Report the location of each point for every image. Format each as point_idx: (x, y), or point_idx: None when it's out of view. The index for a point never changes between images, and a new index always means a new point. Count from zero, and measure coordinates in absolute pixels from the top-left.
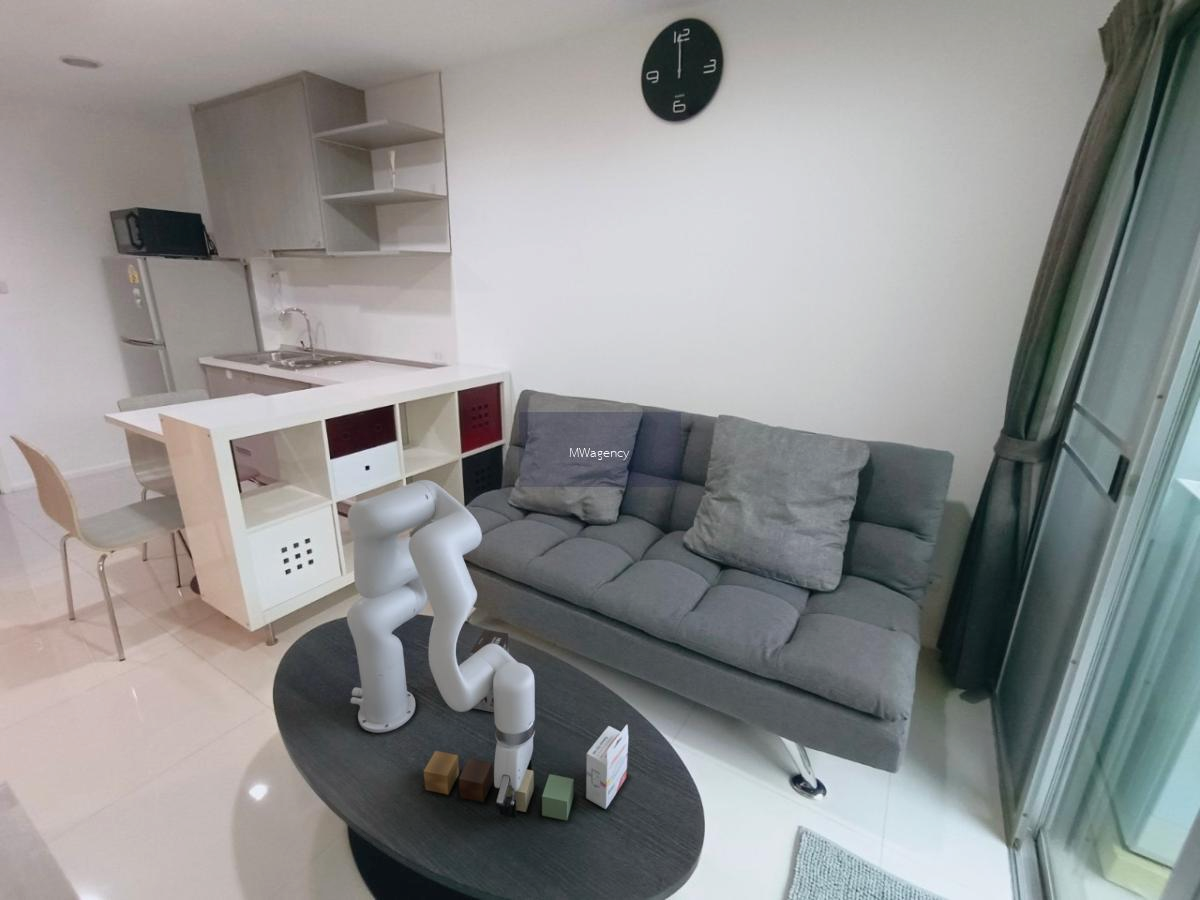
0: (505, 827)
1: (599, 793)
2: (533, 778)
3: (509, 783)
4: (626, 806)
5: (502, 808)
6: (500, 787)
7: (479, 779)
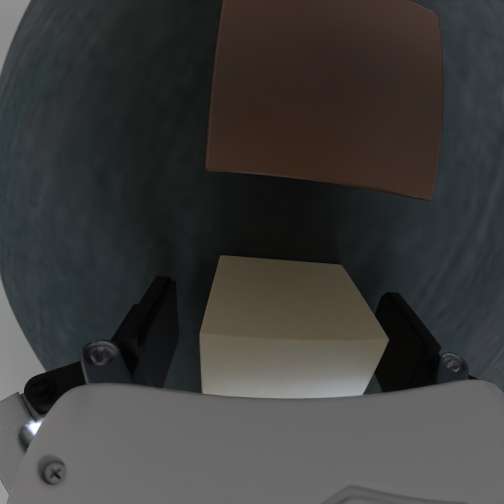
0: (138, 292)
1: None
2: None
3: (245, 374)
4: None
5: (119, 330)
6: (4, 483)
7: (243, 124)
